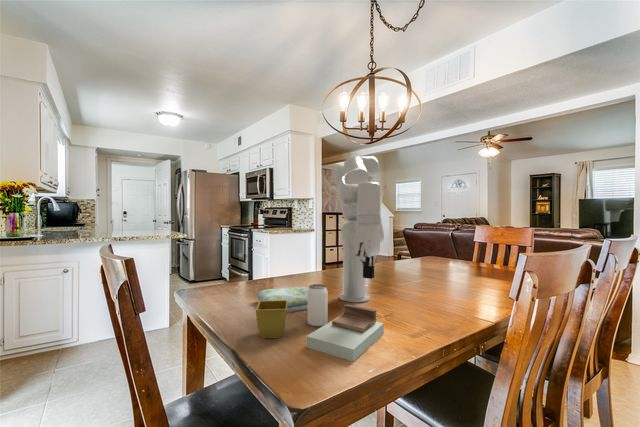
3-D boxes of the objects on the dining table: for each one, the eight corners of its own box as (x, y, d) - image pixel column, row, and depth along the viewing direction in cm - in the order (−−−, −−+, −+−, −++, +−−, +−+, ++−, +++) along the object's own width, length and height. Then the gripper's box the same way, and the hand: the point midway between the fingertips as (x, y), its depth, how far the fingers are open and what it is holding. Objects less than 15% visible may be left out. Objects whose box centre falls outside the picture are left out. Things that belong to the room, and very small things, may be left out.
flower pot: (259, 329, 93) (259, 300, 92) (287, 328, 93) (287, 299, 93) (255, 342, 84) (255, 310, 84) (287, 341, 85) (287, 309, 84)
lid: (346, 315, 95) (346, 304, 95) (376, 321, 90) (376, 309, 90) (331, 324, 88) (332, 312, 88) (363, 332, 83) (363, 319, 82)
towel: (325, 306, 116) (325, 293, 116) (274, 316, 105) (274, 302, 105) (302, 295, 131) (302, 283, 131) (256, 303, 120) (256, 290, 120)
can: (325, 327, 94) (325, 289, 94) (305, 326, 95) (305, 288, 95) (329, 320, 100) (329, 284, 100) (310, 318, 102) (310, 283, 102)
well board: (342, 323, 97) (342, 314, 97) (383, 333, 90) (383, 323, 90) (306, 347, 81) (306, 336, 81) (353, 361, 73) (353, 349, 73)
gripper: (367, 220, 105) (367, 273, 105) (347, 221, 93) (347, 280, 93) (387, 220, 101) (387, 275, 101) (370, 221, 89) (370, 283, 88)
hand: (368, 277), depth 97 cm, fingers closed
